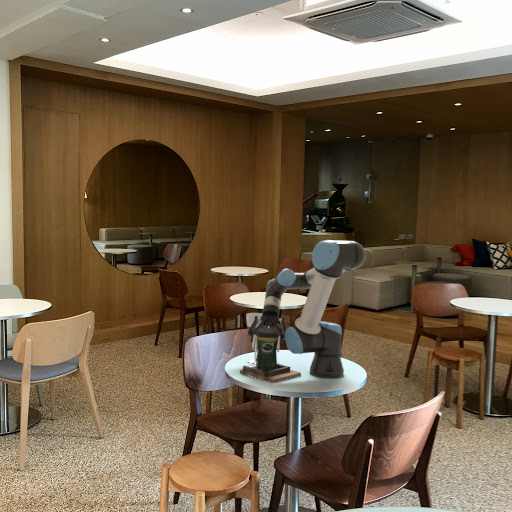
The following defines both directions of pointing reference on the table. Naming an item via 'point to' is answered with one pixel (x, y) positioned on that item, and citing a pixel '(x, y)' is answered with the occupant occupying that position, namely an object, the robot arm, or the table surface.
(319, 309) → the robot arm
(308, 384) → the table surface
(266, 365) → the coffee jar
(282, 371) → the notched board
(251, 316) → the wineglass
